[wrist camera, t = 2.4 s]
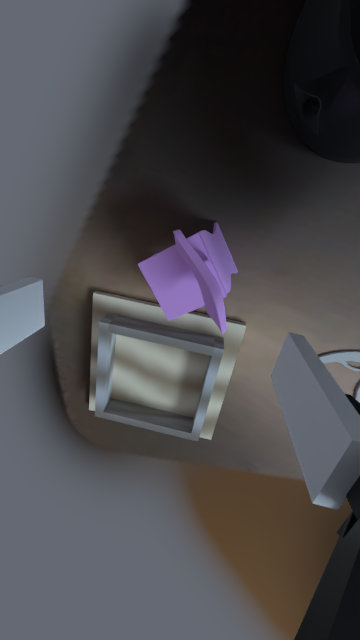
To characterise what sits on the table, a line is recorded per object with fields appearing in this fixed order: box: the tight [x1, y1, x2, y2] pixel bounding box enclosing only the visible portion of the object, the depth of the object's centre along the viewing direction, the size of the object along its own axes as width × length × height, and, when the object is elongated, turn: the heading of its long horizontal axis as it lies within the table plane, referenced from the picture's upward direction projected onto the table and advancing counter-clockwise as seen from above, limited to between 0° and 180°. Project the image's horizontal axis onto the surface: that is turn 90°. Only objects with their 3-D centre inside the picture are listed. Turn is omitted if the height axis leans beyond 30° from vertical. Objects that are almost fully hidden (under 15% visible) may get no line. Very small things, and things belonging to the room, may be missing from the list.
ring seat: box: [89, 291, 246, 441], centre depth 35 cm, size 20×20×4 cm
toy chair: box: [138, 222, 238, 334], centre depth 24 cm, size 8×9×15 cm
